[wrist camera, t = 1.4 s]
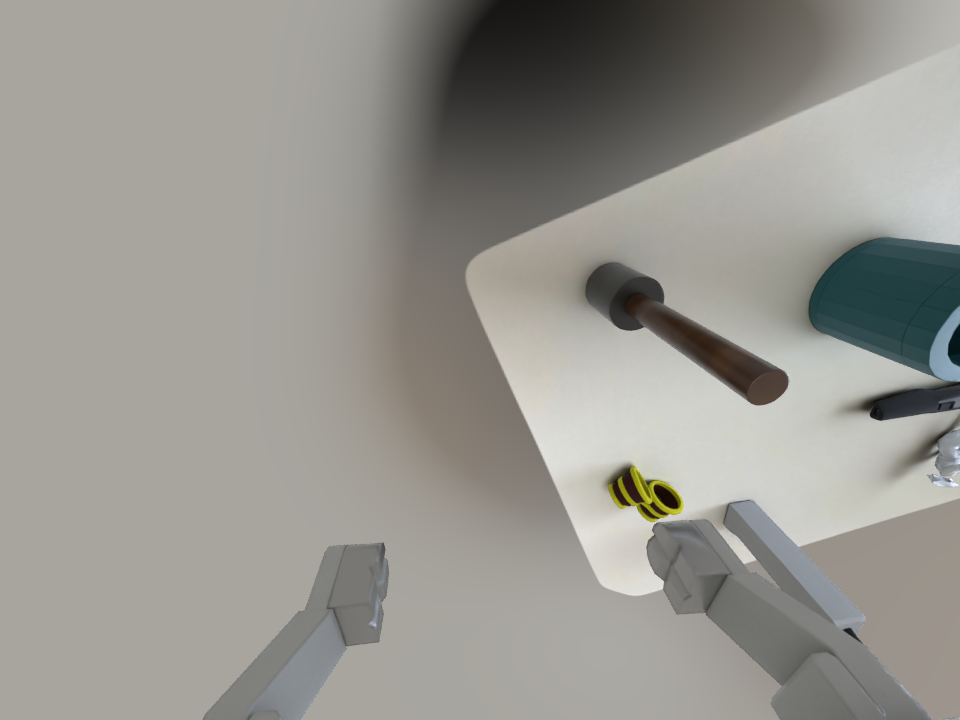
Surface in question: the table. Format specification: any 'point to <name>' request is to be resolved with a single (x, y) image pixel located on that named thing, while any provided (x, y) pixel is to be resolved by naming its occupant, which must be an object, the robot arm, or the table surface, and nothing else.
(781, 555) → the vintage mobile phone
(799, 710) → the robot arm
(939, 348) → the cup
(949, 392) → the electric trimmer
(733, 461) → the table surface
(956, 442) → the soldier figure
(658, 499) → the opera glasses
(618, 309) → the brush
